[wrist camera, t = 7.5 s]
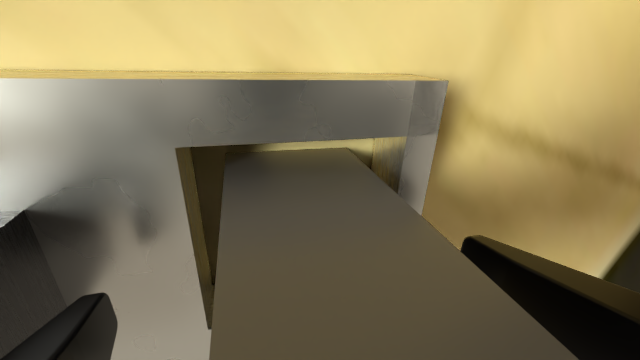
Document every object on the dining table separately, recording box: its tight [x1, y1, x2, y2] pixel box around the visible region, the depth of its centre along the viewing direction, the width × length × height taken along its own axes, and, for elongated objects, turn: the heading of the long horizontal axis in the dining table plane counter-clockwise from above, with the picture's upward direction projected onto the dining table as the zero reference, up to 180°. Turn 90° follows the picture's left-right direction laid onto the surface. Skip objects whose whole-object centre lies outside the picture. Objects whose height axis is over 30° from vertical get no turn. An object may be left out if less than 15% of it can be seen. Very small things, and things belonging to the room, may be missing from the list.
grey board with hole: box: [0, 70, 448, 360], centre depth 7 cm, size 9×16×5 cm, turn 88°
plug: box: [209, 148, 579, 360], centre depth 6 cm, size 4×4×9 cm
